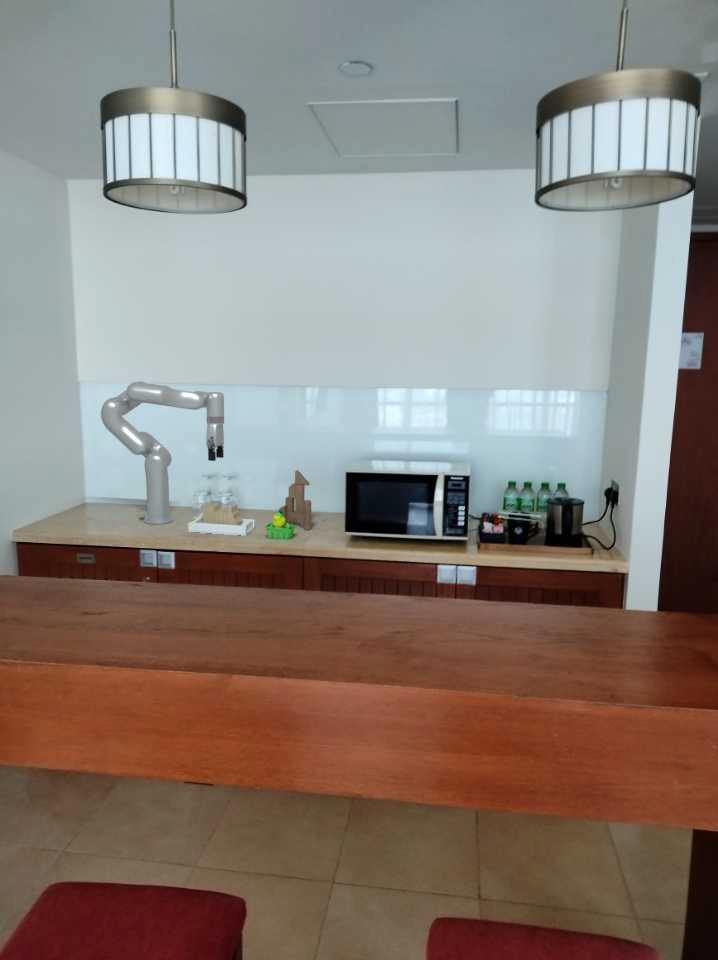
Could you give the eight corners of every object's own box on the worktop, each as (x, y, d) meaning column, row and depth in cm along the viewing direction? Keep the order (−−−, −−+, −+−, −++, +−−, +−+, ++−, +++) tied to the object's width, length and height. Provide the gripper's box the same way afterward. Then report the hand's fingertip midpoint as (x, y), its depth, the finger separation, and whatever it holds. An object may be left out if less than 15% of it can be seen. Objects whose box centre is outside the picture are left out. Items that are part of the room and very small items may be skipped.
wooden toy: (276, 527, 299) (276, 471, 295) (282, 523, 306) (283, 468, 301) (309, 530, 295) (309, 473, 290) (315, 527, 301) (315, 471, 296)
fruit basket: (296, 536, 285) (296, 510, 283) (289, 541, 277) (290, 514, 275) (270, 534, 287) (270, 508, 285) (263, 539, 279) (263, 512, 277)
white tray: (188, 532, 287) (188, 523, 287) (200, 525, 300) (200, 516, 299) (245, 536, 284) (245, 526, 283) (255, 528, 296) (255, 519, 296)
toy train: (236, 531, 287) (236, 508, 285) (201, 527, 292) (200, 504, 290) (243, 528, 292) (242, 505, 290) (207, 524, 297) (207, 502, 295)
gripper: (214, 418, 308) (214, 456, 312) (199, 421, 292) (200, 461, 295) (230, 419, 307) (230, 456, 310) (216, 422, 291) (217, 462, 294)
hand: (216, 459), depth 303 cm, fingers open, 9 cm apart
